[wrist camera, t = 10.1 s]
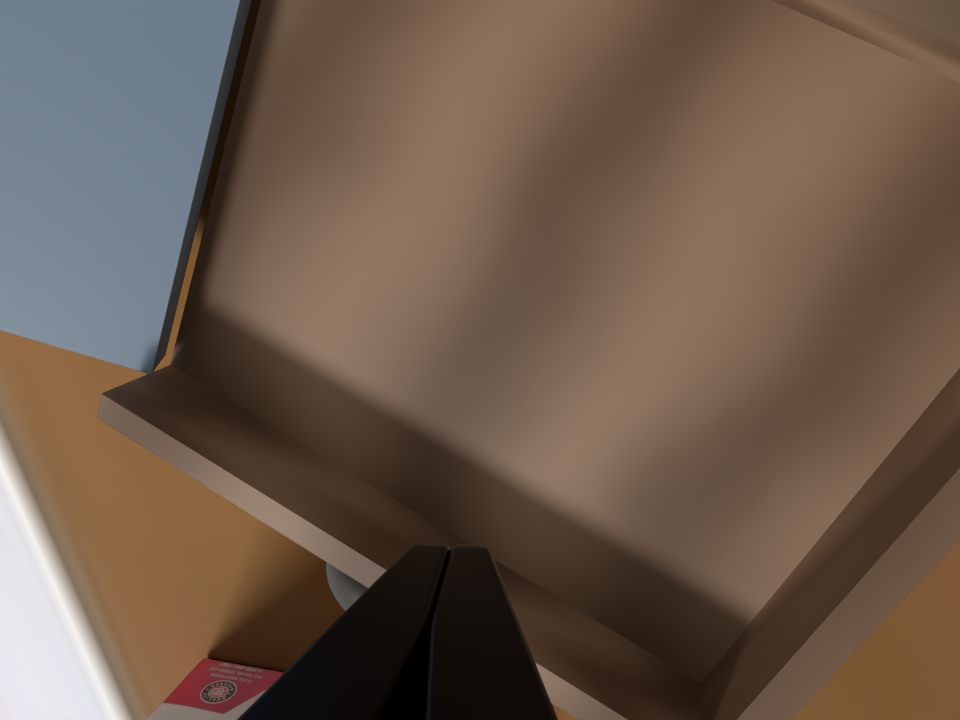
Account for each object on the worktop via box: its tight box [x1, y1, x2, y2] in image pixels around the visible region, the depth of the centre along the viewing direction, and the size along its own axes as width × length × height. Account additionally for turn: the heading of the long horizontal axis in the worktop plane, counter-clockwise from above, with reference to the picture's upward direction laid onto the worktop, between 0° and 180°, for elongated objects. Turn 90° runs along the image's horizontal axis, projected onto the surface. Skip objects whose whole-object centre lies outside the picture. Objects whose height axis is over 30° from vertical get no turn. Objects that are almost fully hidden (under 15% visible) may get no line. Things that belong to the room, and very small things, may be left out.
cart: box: [97, 0, 960, 720], centre depth 16 cm, size 18×19×4 cm
